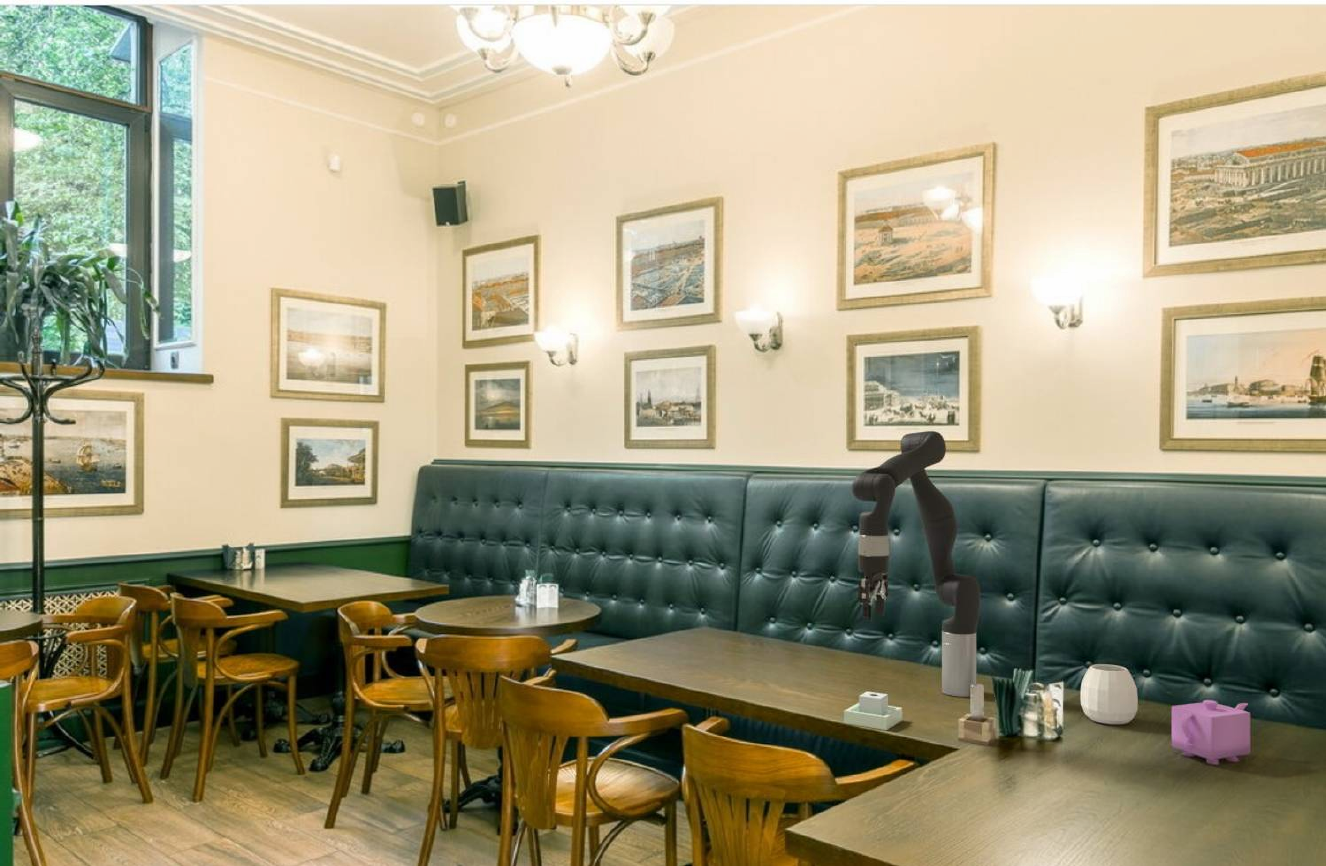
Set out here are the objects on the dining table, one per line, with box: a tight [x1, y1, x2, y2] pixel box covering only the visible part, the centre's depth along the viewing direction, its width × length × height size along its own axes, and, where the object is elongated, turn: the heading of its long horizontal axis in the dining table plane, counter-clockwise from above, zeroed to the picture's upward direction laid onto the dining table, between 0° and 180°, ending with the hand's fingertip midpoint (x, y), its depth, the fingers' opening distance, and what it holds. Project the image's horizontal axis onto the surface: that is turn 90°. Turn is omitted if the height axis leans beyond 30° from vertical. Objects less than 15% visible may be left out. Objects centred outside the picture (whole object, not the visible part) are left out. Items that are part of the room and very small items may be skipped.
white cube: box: [858, 691, 889, 716], centre depth 250 cm, size 6×6×6 cm
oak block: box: [957, 713, 997, 746], centre depth 235 cm, size 7×7×5 cm
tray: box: [843, 702, 903, 731], centre depth 249 cm, size 11×11×3 cm
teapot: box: [1171, 699, 1251, 766], centre depth 223 cm, size 20×10×12 cm, turn 112°
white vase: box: [1080, 663, 1139, 725], centre depth 251 cm, size 13×13×14 cm
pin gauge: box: [969, 682, 985, 723], centre depth 235 cm, size 3×3×12 cm
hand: (873, 617), depth 250 cm, fingers open, 8 cm apart
